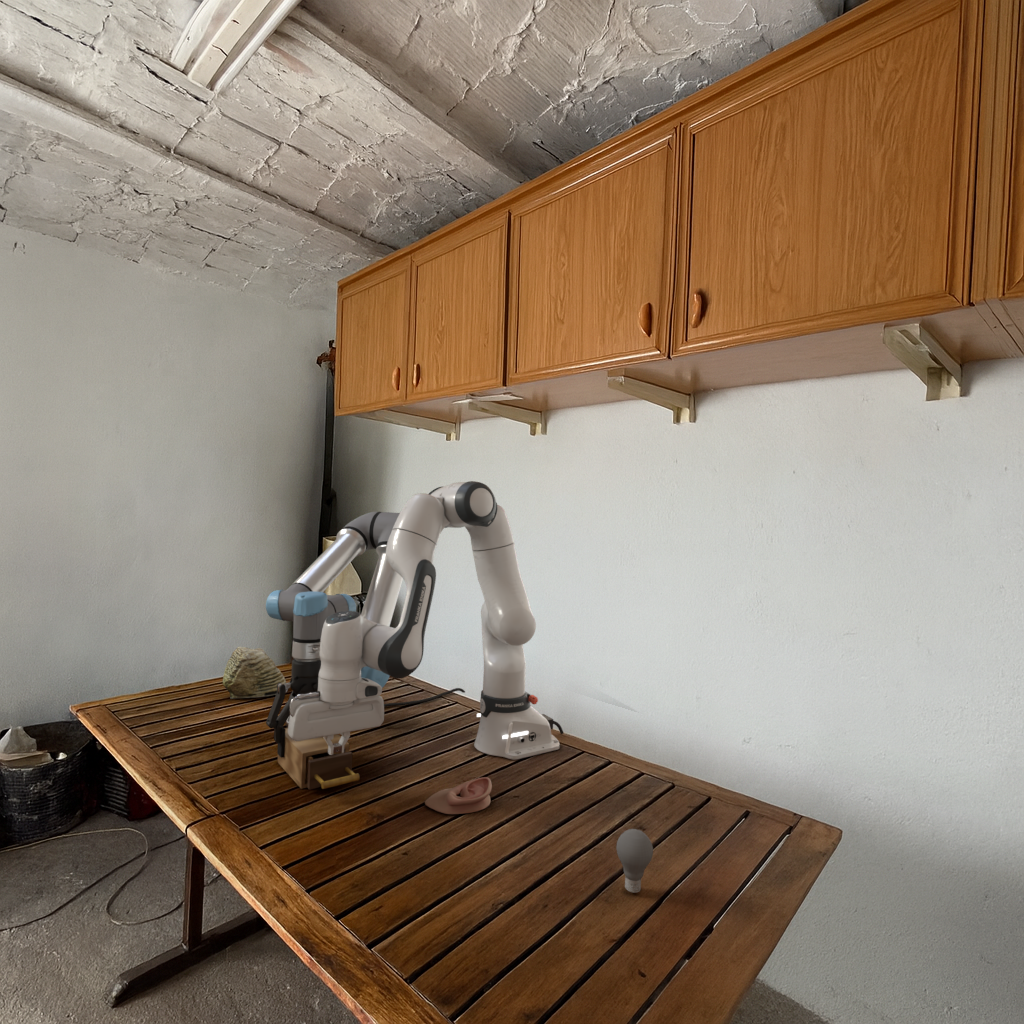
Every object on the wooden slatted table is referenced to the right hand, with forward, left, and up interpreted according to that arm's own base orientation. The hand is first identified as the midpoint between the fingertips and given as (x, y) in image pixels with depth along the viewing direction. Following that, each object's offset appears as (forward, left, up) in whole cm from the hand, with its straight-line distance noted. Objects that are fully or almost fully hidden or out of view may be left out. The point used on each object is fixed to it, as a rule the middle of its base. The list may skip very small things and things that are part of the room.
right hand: (335, 753), depth 135 cm
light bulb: (-41, +50, -9) cm, 66 cm away
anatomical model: (-24, +12, -9) cm, 28 cm away
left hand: (+4, -18, -6) cm, 20 cm away
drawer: (+1, -7, -8) cm, 11 cm away
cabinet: (+3, -14, -9) cm, 17 cm away
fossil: (+14, -75, -9) cm, 77 cm away
